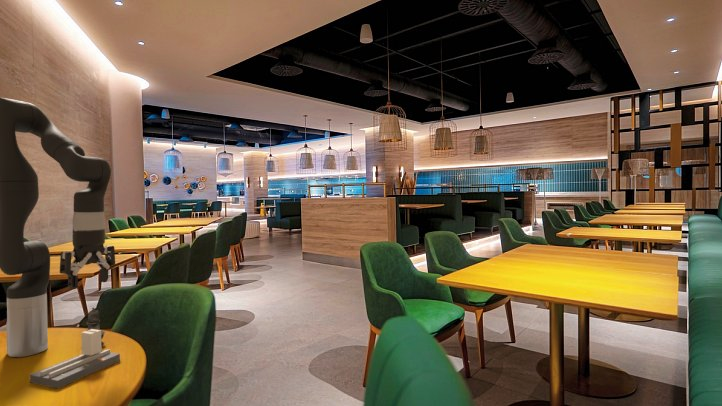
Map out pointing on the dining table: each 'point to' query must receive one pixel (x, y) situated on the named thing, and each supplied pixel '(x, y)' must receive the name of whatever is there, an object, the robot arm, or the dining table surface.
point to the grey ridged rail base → (73, 369)
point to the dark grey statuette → (94, 322)
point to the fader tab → (91, 342)
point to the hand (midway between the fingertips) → (88, 285)
